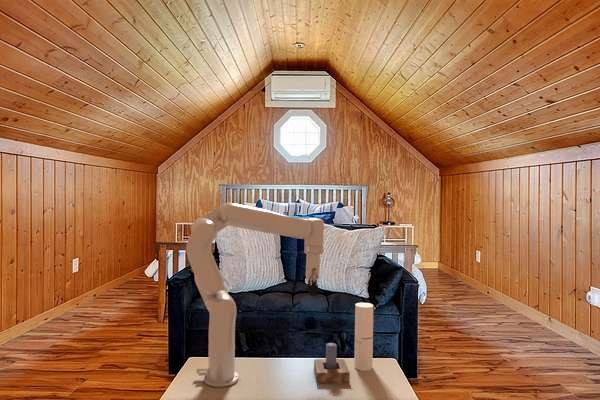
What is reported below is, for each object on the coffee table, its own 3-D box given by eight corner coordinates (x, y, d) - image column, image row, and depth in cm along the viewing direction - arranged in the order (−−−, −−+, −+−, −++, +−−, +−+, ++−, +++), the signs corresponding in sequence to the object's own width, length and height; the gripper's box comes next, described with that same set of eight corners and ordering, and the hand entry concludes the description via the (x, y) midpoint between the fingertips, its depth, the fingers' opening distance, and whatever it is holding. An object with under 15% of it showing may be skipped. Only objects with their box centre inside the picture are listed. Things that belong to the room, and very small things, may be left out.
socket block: (316, 383, 153) (317, 372, 153) (313, 369, 165) (314, 359, 165) (349, 383, 153) (349, 372, 153) (344, 369, 165) (344, 359, 165)
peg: (326, 378, 157) (326, 346, 157) (325, 373, 161) (325, 343, 161) (337, 378, 157) (337, 346, 157) (335, 373, 161) (335, 342, 161)
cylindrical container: (372, 371, 164) (373, 308, 163) (353, 369, 165) (354, 306, 165) (372, 364, 171) (373, 303, 170) (354, 362, 172) (355, 302, 172)
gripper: (303, 246, 175) (302, 287, 176) (305, 252, 158) (304, 297, 159) (321, 246, 176) (320, 287, 176) (325, 252, 158) (324, 297, 159)
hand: (312, 292), depth 167 cm, fingers open, 9 cm apart
